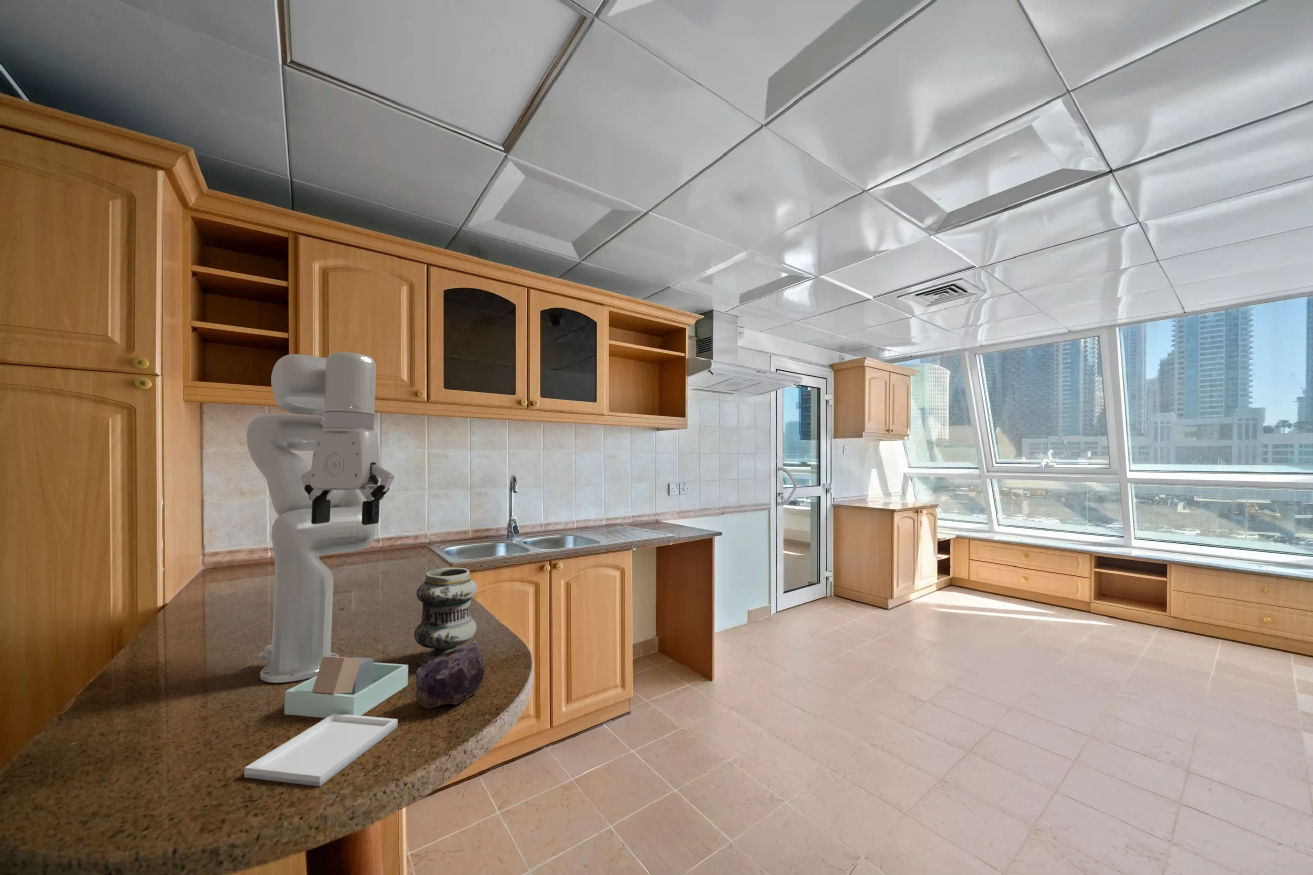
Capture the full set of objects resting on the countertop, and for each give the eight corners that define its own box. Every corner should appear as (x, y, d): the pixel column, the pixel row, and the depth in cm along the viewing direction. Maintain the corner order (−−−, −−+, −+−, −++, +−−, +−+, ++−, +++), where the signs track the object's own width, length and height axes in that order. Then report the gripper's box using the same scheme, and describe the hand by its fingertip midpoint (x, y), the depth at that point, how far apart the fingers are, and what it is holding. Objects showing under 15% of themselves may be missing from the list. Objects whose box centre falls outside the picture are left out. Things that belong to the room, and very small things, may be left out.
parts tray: (244, 777, 62) (244, 767, 62) (333, 721, 76) (333, 713, 76) (319, 786, 60) (320, 776, 60) (397, 727, 74) (397, 719, 74)
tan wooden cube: (311, 691, 78) (323, 656, 80) (330, 690, 81) (341, 657, 83) (333, 693, 77) (344, 657, 79) (351, 692, 81) (361, 658, 83)
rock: (411, 710, 82) (443, 727, 76) (404, 661, 82) (435, 674, 76) (473, 675, 91) (505, 688, 85) (467, 631, 91) (499, 641, 85)
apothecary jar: (447, 673, 93) (449, 579, 95) (399, 665, 97) (402, 575, 98) (487, 651, 105) (489, 567, 106) (443, 644, 109) (445, 564, 110)
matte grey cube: (334, 696, 83) (335, 665, 83) (352, 686, 87) (353, 656, 87) (354, 698, 82) (355, 667, 82) (372, 688, 86) (373, 658, 86)
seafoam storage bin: (284, 713, 78) (285, 691, 78) (346, 680, 91) (347, 660, 91) (353, 720, 76) (354, 696, 76) (407, 684, 89) (408, 664, 89)
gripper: (286, 423, 82) (281, 525, 81) (377, 421, 79) (373, 527, 78) (324, 427, 89) (320, 520, 88) (408, 425, 86) (405, 522, 85)
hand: (345, 523), depth 83 cm, fingers open, 9 cm apart
